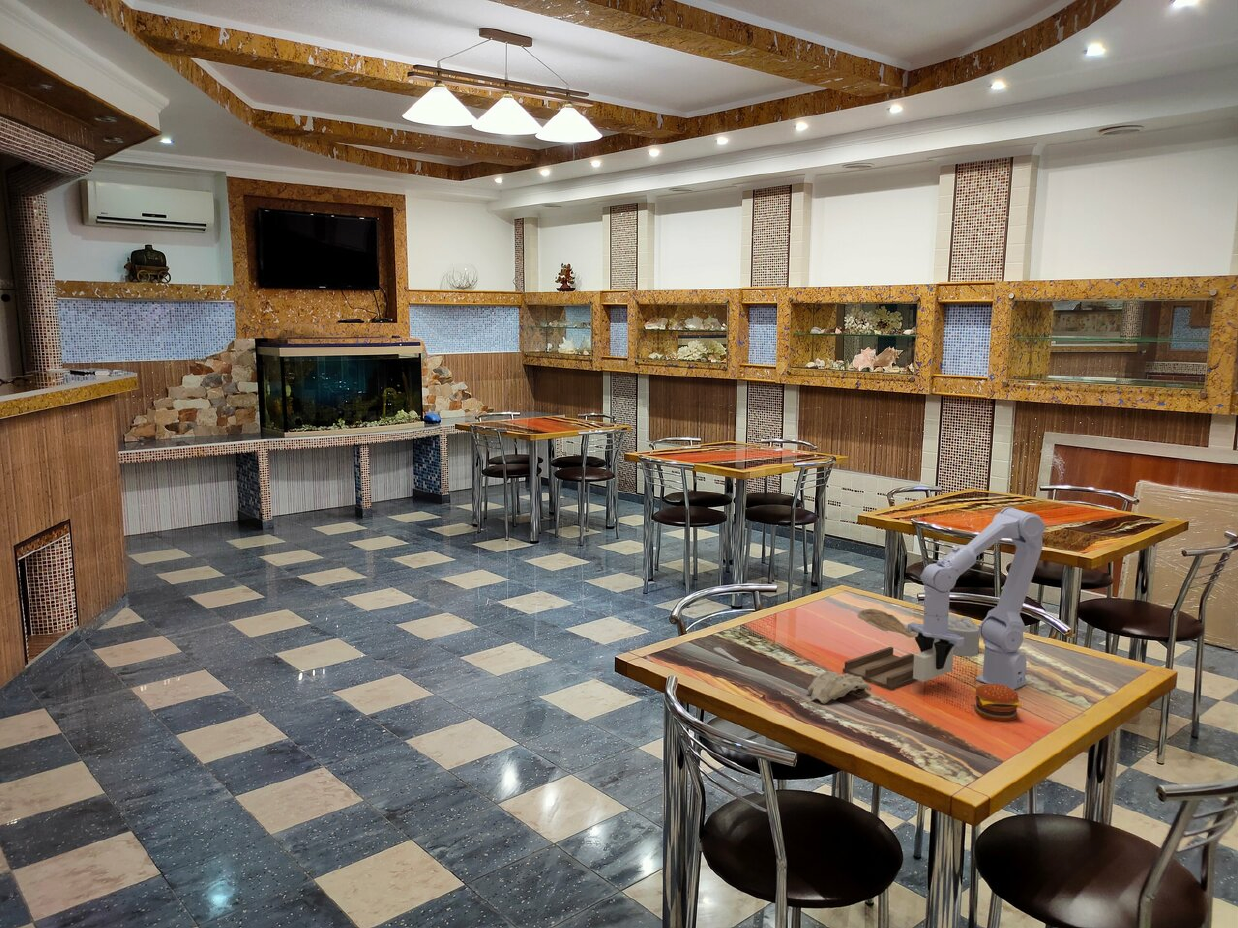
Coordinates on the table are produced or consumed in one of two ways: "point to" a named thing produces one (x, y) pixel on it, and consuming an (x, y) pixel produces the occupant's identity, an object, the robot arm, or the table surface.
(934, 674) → the white rectangular block
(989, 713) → the hamburger
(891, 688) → the rack
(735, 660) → the butter knife
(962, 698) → the table surface
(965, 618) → the lumpy-topped squat cylinder
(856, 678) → the coral
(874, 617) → the fish fossil
